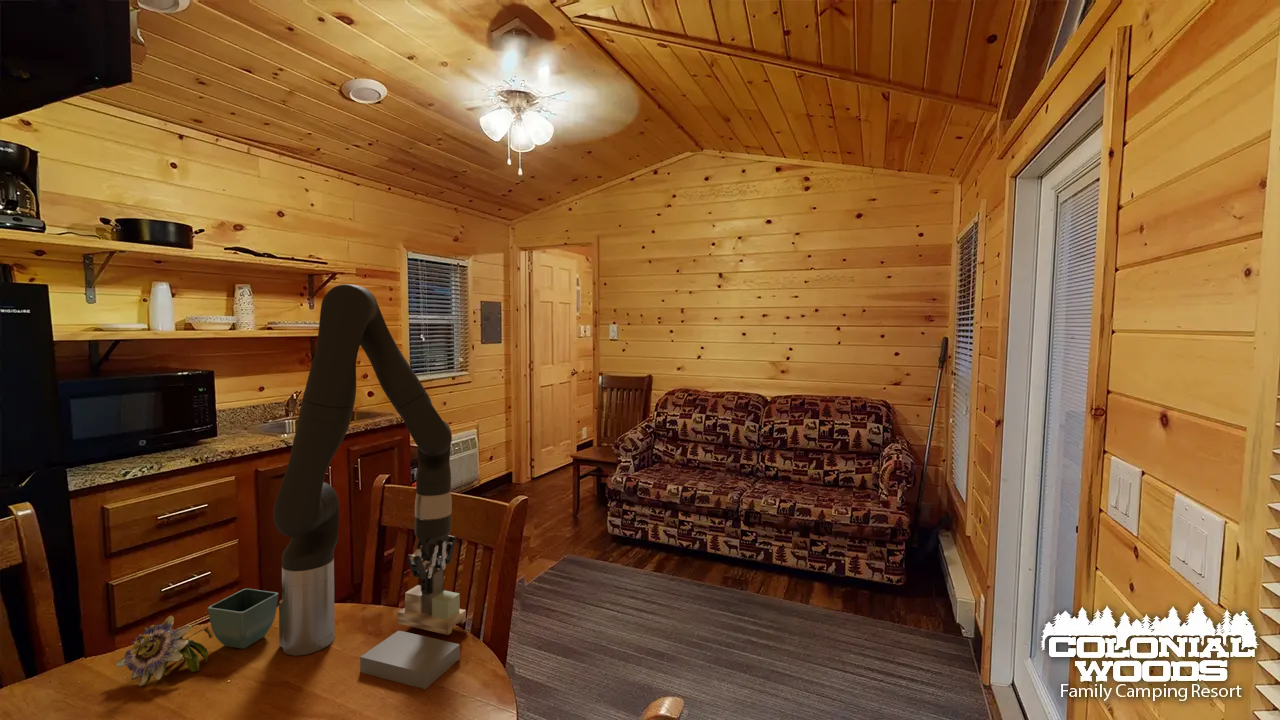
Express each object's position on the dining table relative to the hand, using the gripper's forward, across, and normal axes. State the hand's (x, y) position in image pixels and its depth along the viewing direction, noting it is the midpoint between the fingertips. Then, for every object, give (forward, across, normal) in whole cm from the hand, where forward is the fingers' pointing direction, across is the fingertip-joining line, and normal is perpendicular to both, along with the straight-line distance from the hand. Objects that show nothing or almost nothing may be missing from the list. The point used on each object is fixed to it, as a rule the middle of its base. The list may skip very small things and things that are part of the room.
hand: (432, 589), depth 119 cm
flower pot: (+10, +17, -33) cm, 38 cm away
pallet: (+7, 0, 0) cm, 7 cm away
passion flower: (+10, +29, -37) cm, 48 cm away
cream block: (+5, 0, -4) cm, 6 cm away
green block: (+5, 0, +4) cm, 6 cm away
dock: (+9, +12, +5) cm, 16 cm away
